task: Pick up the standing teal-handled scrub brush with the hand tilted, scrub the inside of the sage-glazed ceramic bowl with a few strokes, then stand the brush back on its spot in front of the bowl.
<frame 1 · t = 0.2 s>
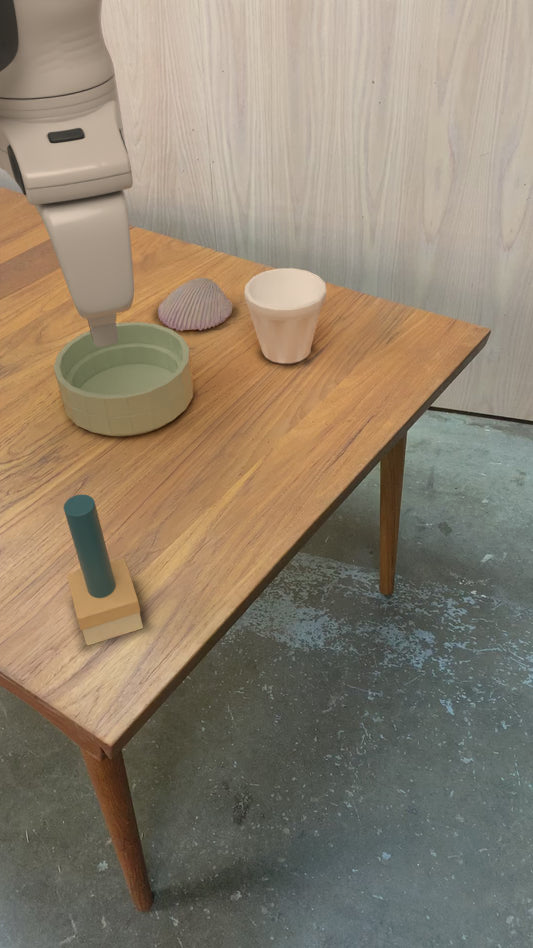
hand: (92, 310, 61), 25 cm above the table, tool pointing down, fingers open, 8 cm apart
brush: (109, 615, 70), on the table
cup: (286, 353, 100), on the table
bowl: (130, 399, 94), on the table
seashell: (196, 314, 108), on the table
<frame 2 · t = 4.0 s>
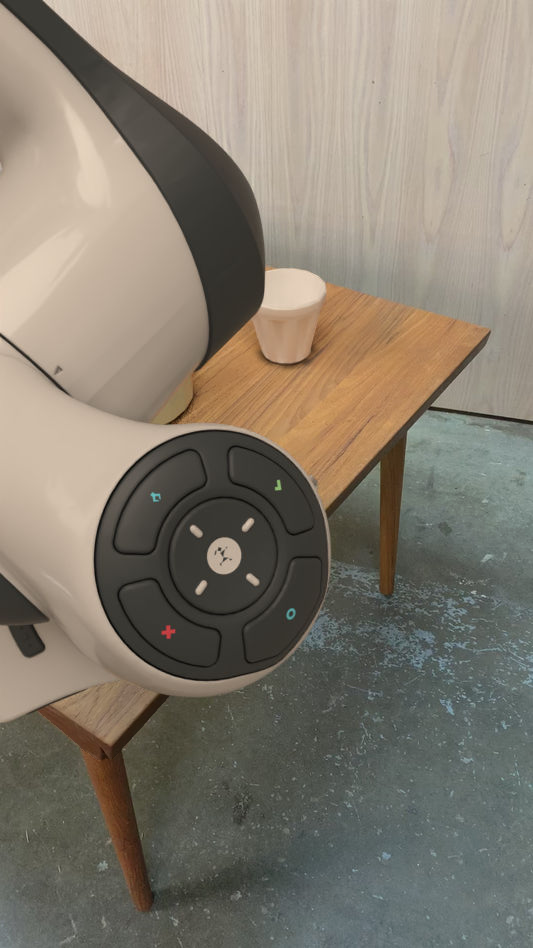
hand: (114, 575, 49), 18 cm above the table, tool tilted 45°, fingers open, 8 cm apart
nothing on the table moved.
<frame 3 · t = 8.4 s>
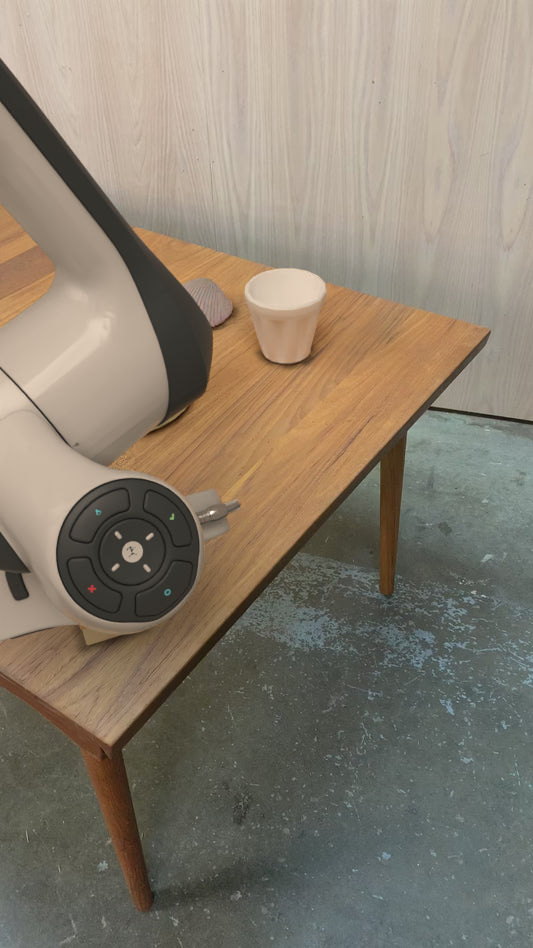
hand: (91, 552, 65), 8 cm above the table, tool tilted 45°, fingers closed on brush, 2 cm apart
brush: (109, 615, 70), on the table, touching gripper
everything else where it was.
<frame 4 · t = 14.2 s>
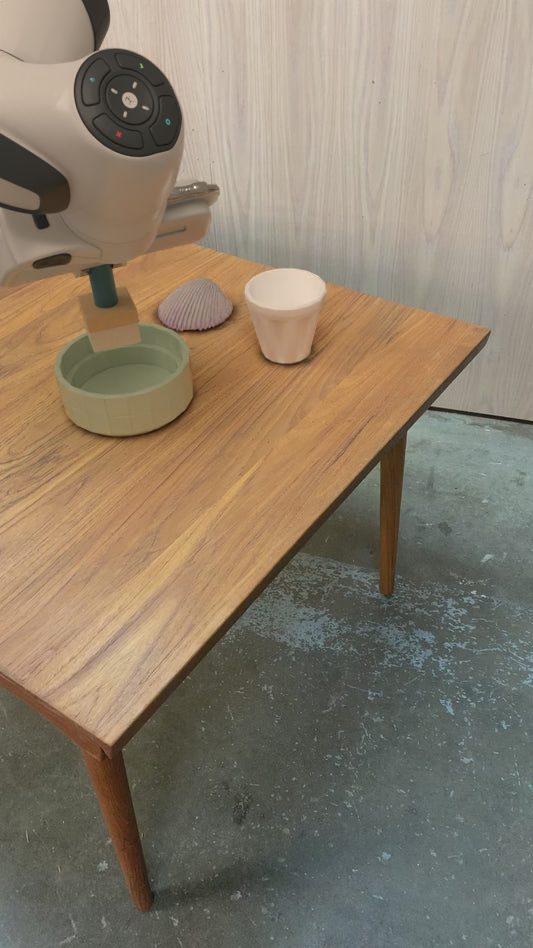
hand: (97, 264, 78), 19 cm above the table, tool tilted 45°, fingers closed on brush, 2 cm apart
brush: (113, 335, 83), point 12 cm above the table, touching gripper
everything else where it was.
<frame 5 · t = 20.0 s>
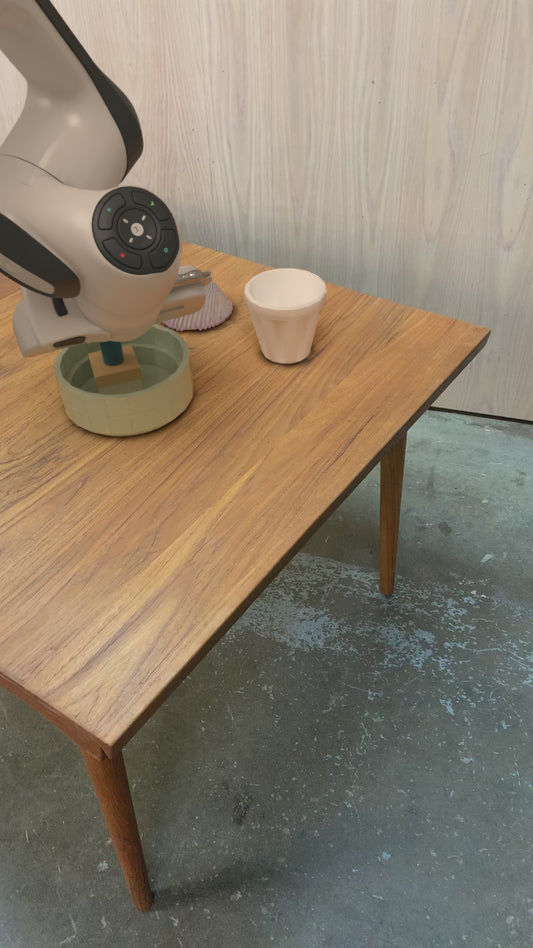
hand: (106, 331, 89), 9 cm above the table, tool tilted 45°, fingers closed on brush, 2 cm apart
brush: (119, 388, 94), point 1 cm above the table, touching gripper
everything else where it was.
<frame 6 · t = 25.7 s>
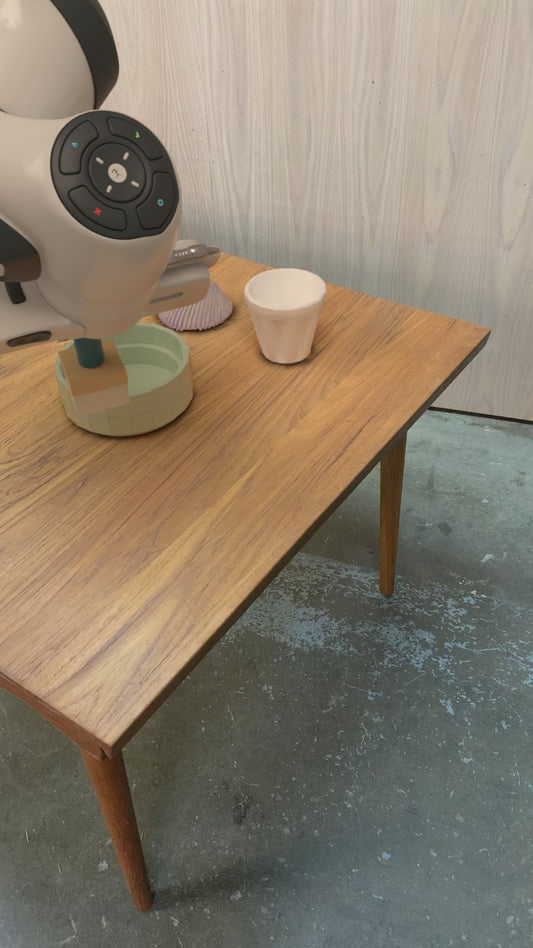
hand: (83, 327, 70), 19 cm above the table, tool tilted 45°, fingers closed on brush, 2 cm apart
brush: (98, 393, 75), point 12 cm above the table, touching gripper
everything else where it was.
when the fingers open (7 cm above the table, at t = 31.4 s): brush stays where it is, on the table.
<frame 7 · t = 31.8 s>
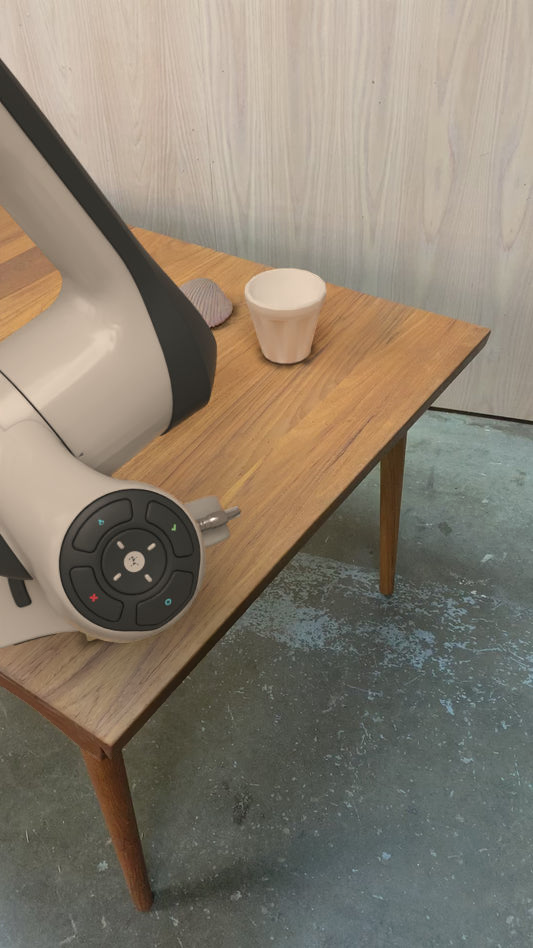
hand: (92, 557, 65), 7 cm above the table, tool tilted 45°, fingers open, 7 cm apart
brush: (109, 611, 70), on the table
everything else where it was.
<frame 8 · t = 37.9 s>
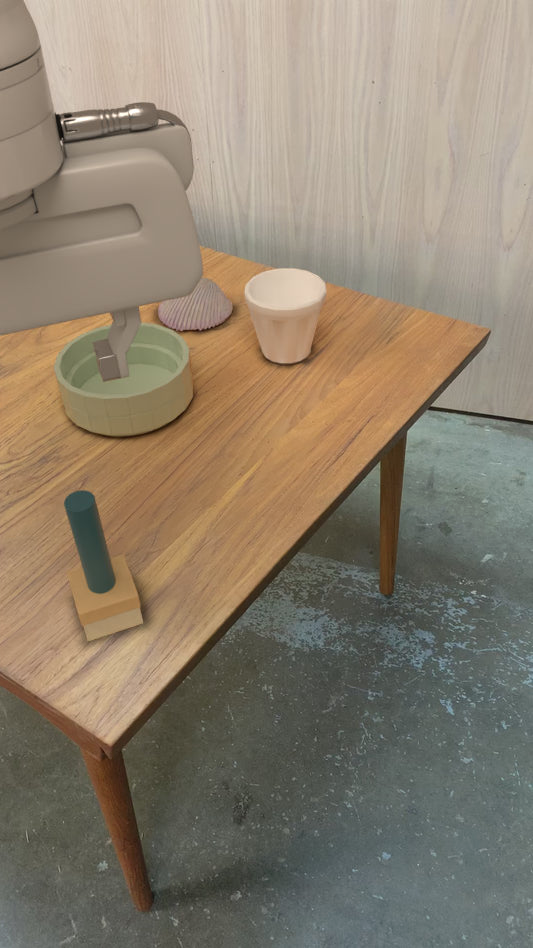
hand: (28, 394, 42), 31 cm above the table, tool pointing down, fingers open, 8 cm apart
nothing on the table moved.
at the end: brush tilted 0°; the gripper is holding nothing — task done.
